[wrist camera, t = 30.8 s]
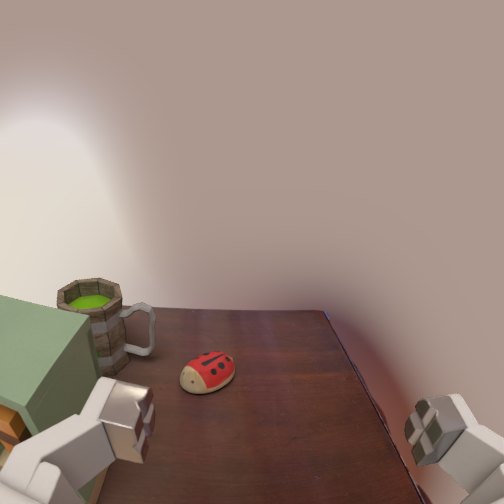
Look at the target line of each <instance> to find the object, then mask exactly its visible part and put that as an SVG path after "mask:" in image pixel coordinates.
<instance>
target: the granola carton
mask: <svg viewBox="0 0 504 504" xmlns="http://www.w3.org/2000/svg"><path fill="white" fill-rule="evenodd" d="M31 437H33V436H32V435H31V433H30V431H29V429H28V428H27V426H26V424H25V423H24V421H23V419H22V417H21V415H20V414H19V412H17V411H15V410H13V409H11V408H8V407H6V406H4V405H2V404H0V441H1V442H2V444H3V445H4V446H5V448H6V449H7V450H8V452H9V453H11V451H12V450H13V448H14V446H16V445H18V444H19V443H21V442H23V441H25V440H27V439H29V438H31Z"/></svg>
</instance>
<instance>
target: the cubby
mask: <svg viewBox="0 0 504 504" xmlns="http://www.w3.org/2000/svg"><path fill="white" fill-rule="evenodd" d="M101 377H102V375H101V370H100V366H99V362H98V357H97V353H96V348H95V343H94V339H93V333H92V328H91V323H90V317H89V315H85V314H80V313H75V312H70V311H65V310H61V309H56V308H52V307H47V306H43V305H38V304H34V303H30V302H26V301H22V300H18V299H14V298H10V297H6V296H2V295H0V404H2V405H4V406H6V407H8V408H11V409H13V410H15V411H17V412H19V414H20V415H21V417H22V419H23V421H24V423H25V424H26V426H27V428H28V429H29V431H30V433H31V435H32V436H35V435H37V434H39V433H41V432H43V431H44V430H46V429H48V428H50V427H52V426H54V425H56V424H58V423H59V422H61V421H63V420H65V419H67V418H69V417H70V416H72V415H74V414H77V415H80V413H81V411H82V409H83V407H84V406H85V404H86V402H87V400H88V398H89V396H90V394H91V392H92V390H93V388H94V387H95V385H96V383H97V381H98V380H99V379H100V378H101ZM9 455H10V453H9V452H8V450H7V449H6V448H5V446H4V445H3V444H2V442H1V441H0V471H1V469H2V468H3V466H4V464H5V462H6V460H7V458H8V457H9ZM108 468H109V466H107V467H106V468H105V469H104V470H102V471H101V472H100V473H99V474H97V475H96V476H95V477H94V478H92V479H91V480H90V481H89V482H87V483H86V484H85V485H84V486H82V487H81V488H80V489H78V490H77V491H76V493H77V494H78V495H79V497H80V498H81V499H82V501H83V502H84V503H85V504H97V501H98V498H99V495H100V491H101V488H102V485H103V482H104V479H105V477H106V474H107V471H108Z"/></svg>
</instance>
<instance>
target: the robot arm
mask: <svg viewBox="0 0 504 504" xmlns="http://www.w3.org/2000/svg"><path fill="white" fill-rule="evenodd" d="M152 398H153V393H152V388H150V387H145V386H141V385H136V384H132V383H128V382H123V381H119V380H114V379H110V378H106V377H103V376H102V377H101V378H100V379H99V380H98V381H97V383H96V385H95V387H94V388H93V390H92V392H91V394H90V396H89V398H88V400H87V402H86V404H85V406H84V407H83V409H82V411H81V413H80V415H77V414H74V415H72V416H70V417H69V418H67V419H65V420H63V421H61V422H59V423H58V424H56V425H54V426H52V427H50V428H48V429H46V430H44V431H43V432H41V433H39V434H37V435H35V436H33V437H31V438H29V439H27V440H25V441H23V442H21V443H19V444H18V445H16V446H14V448H13V450H12V451H11V453H10V455H9V457H8V458H7V460H6V462H5V464H4V466H3V468H2V469H1V471H0V504H85V503H84V502H83V501H82V499H81V498H80V497H79V495H78V494H77V493H76V491H77V490H78V489H80V488H81V487H82V486H84V485H85V484H86V483H87V482H89V481H90V480H91V479H92V478H94V477H95V476H96V475H97V474H99V473H100V472H101V471H102V470H104V469H105V468H106V467H107V466H109V465H110V464H111V463H112V462H113V461H115V460H116V459H115V458H117V459H122V460H126V461H131V462H135V463H140V464H144V460H145V457H146V453H147V450H148V442H147V438H148V437H150V436H151V435H152V432H153V429H154V423H155V407H154V405H153V404H152V403H151V401H152ZM415 408H416V411H415V412H414V413H413V414H411V415H410V416H409V418H408V419H407V421H406V424H405V437H406V439H407V442H409V443H410V444H411V445H413V448H412V454H413V457H414V459H415V462H416V465H417V467H418V466H423V465H429V464H433V463H437V464H438V465H439V466H440V467H441V468H442V469H443V470H444V471H445V472H446V473H447V474H449V475H450V476H451V477H452V478H453V479H454V480H455V481H456V482H457V483H458V484H459V485H461V487H463V488H464V489H465V490H466V491H467V492H468V493H469V495H468V496H467V497H466V498H465V499H464V500H463V501H462V502H461V504H504V438H502V437H501V436H499V435H498V434H496V433H494V432H493V431H491V430H490V429H488V428H487V427H485V426H483V425H479V424H478V422H477V421H476V419H475V418H474V416H473V414H472V413H471V411H470V409H469V408H468V406H467V405H466V403H465V401H464V399H463V398H462V396H461V395H459V394H458V393H457V394H450V395H443V396H436V397H428V398H422V399H420V400H419V401H418V402H417V404H416V406H415Z"/></svg>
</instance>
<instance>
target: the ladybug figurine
mask: <svg viewBox="0 0 504 504" xmlns="http://www.w3.org/2000/svg"><path fill="white" fill-rule="evenodd" d="M234 373H235V366H234V363H233V359H232V358H231V357H229V356H228V355H227V354H225V353H223V352H217V351H216V352H209V353H205V354H202V355H200V356H198V357H196V358H195V359H193V360H192V361H190V362H189V363H188V364H187V365H186V366H185V367H184V369H183V371H182V373H181V376H180V384H181V386H182V388H183V389H184V390H186V391H188V392H190V393H195V394H204V393H210V392H213V391H216V390H218V389H220V388H222V387H223V386H225V385H226V384H227V383H228V382H229V381H230V380H231V379H232V378H233V376H234Z"/></svg>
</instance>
